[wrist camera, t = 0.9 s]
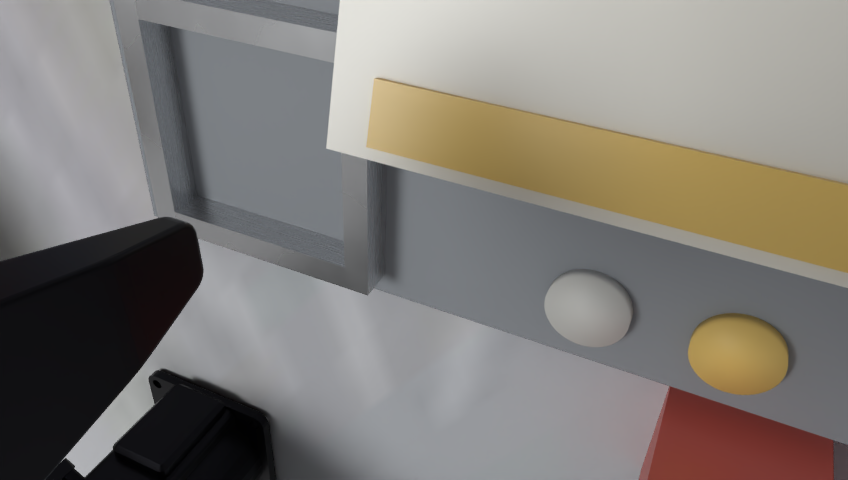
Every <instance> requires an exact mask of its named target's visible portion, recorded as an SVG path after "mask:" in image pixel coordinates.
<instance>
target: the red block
mask: <svg viewBox="0 0 848 480" xmlns="http://www.w3.org/2000/svg"><path fill="white" fill-rule="evenodd" d="M639 480H834V468H833V440H831V439H828V438H825V437H822V436H819V435H816V434H813V433H810V432H807V431H804V430H801V429H798V428H795V427H792V426H789V425H786V424H783V423H780V422H777V421H774V420H771V419H768V418H765V417H762V416H759V415H756V414H753V413H750V412H747V411H744V410H740V409H737V408H734V407H731V406H728V405H725V404H722V403H719V402H716V401H713V400H710V399H707V398H704V397H701V396H698V395H695V394H692V393H689V392H686V391H683V390H680V389H677V388H674V387H671V386H669V389H668V392H667V395H666V398H665V401H664V404H663V407H662V410H661V413H660V416H659V419H658V422H657V425H656V428H655V431H654V433H653V436H652V439H651V442H650V445H649V448H648V451H647V454H646V457H645V460H644V463H643V466H642V469H641V473H640V476H639Z"/></svg>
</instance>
